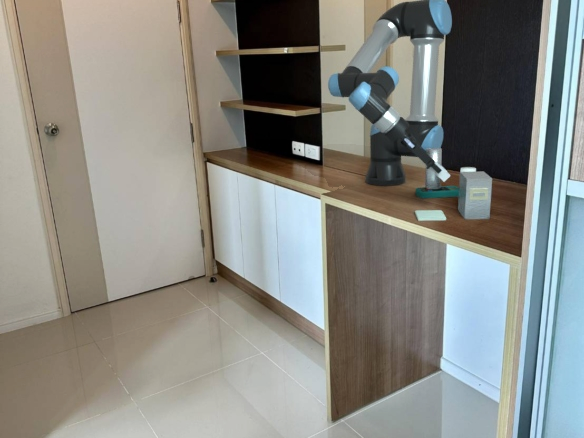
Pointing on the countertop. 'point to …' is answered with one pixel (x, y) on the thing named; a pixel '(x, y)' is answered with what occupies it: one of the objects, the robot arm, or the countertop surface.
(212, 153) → the countertop surface
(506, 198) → the countertop surface
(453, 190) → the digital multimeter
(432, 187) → the clear drinking glass
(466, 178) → the box
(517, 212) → the countertop surface
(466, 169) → the cream canister
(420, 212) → the pad
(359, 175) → the countertop surface
